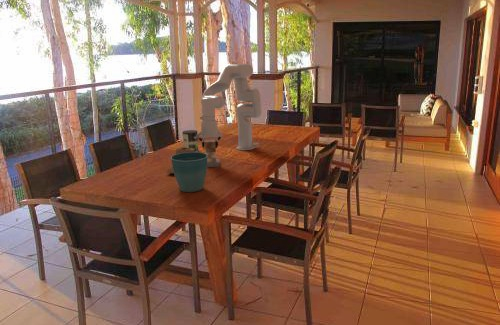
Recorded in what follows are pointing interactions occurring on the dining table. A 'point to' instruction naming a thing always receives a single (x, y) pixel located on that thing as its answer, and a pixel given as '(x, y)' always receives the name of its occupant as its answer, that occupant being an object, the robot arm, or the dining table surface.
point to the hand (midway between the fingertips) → (210, 147)
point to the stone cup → (178, 150)
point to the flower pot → (190, 170)
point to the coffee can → (190, 139)
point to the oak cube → (211, 156)
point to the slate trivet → (213, 163)
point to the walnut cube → (210, 146)
